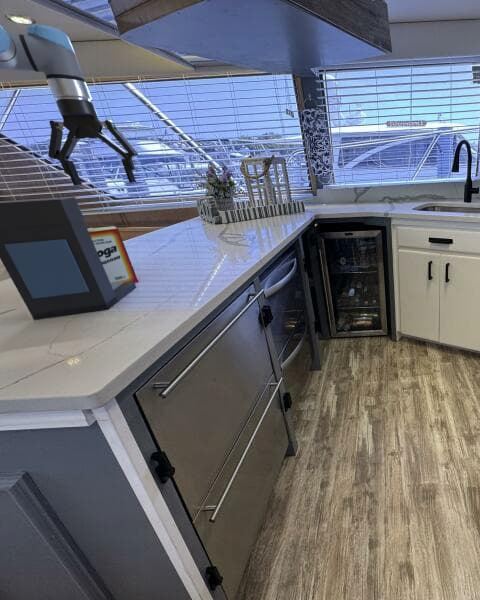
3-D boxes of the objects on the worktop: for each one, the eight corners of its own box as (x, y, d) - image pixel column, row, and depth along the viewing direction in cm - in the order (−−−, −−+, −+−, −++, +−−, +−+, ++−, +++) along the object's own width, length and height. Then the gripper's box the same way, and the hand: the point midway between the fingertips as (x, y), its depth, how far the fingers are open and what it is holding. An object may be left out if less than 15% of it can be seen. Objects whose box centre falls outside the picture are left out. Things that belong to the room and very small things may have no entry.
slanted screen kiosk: (32, 320, 71) (-32, 204, 61) (74, 294, 86) (28, 197, 76) (107, 310, 75) (58, 199, 65) (136, 287, 90) (99, 193, 80)
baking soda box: (134, 277, 98) (113, 224, 92) (138, 281, 94) (117, 226, 88) (93, 286, 92) (68, 230, 86) (96, 291, 88) (70, 233, 81)
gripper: (134, 103, 93) (158, 180, 101) (26, 102, 87) (62, 185, 95) (122, 98, 86) (149, 181, 95) (4, 97, 80) (45, 187, 88)
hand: (106, 183), depth 95 cm, fingers open, 13 cm apart
